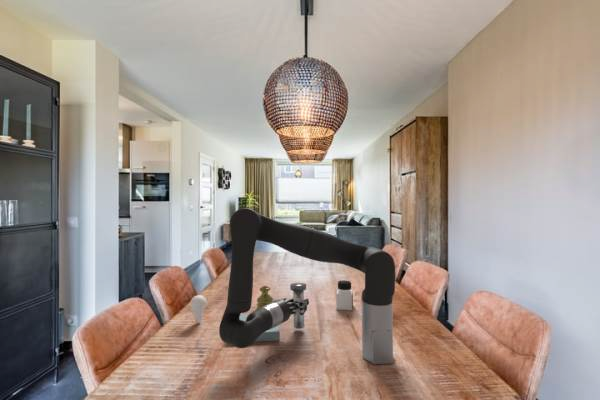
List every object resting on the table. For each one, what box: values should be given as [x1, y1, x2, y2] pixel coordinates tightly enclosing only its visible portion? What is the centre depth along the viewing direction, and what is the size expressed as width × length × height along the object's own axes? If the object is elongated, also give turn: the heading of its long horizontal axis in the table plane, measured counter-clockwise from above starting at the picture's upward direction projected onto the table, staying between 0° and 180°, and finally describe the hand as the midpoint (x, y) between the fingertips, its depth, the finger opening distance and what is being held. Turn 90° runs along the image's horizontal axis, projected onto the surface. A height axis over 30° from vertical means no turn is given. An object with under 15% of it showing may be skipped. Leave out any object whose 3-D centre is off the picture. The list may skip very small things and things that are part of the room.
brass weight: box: [256, 285, 274, 310], centre depth 135 cm, size 7×7×10 cm
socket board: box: [239, 313, 281, 342], centre depth 112 cm, size 18×18×3 cm
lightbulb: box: [189, 294, 207, 324], centre depth 119 cm, size 6×6×11 cm
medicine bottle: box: [335, 279, 354, 311], centre depth 135 cm, size 7×7×12 cm
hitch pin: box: [289, 282, 307, 330], centre depth 111 cm, size 6×6×16 cm
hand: (302, 300), depth 114 cm, fingers closed on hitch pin, 4 cm apart
